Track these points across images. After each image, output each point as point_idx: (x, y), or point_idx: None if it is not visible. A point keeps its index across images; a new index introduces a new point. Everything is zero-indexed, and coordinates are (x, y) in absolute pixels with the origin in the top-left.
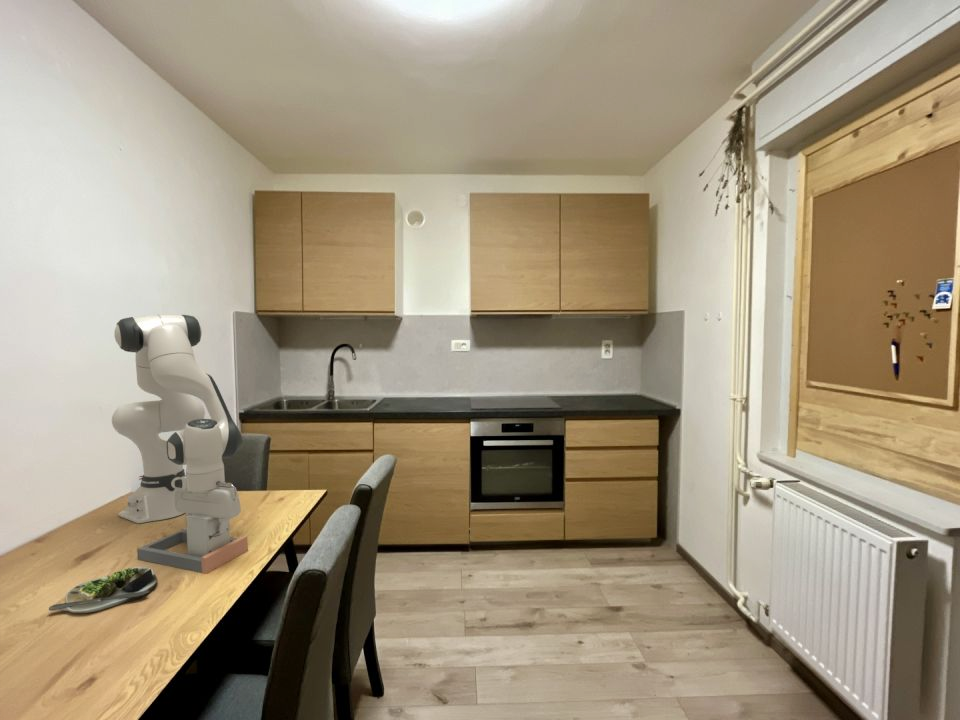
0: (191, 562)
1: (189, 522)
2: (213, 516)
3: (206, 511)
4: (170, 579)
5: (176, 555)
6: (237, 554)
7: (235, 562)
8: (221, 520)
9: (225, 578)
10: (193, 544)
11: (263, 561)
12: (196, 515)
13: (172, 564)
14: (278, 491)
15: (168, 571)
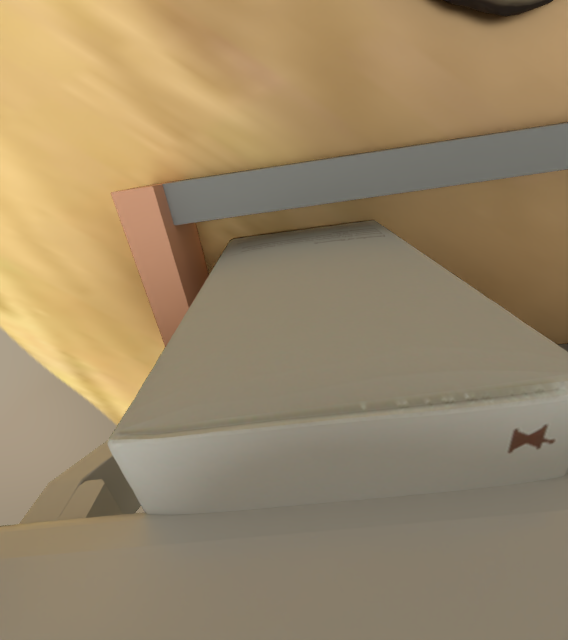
0: (257, 169)
1: (461, 335)
2: (99, 527)
3: (230, 597)
4: (272, 26)
5: (414, 157)
6: None
7: (152, 320)
8: (53, 499)
9: (12, 198)
10: (342, 253)
11: (57, 372)
12: (428, 465)
13: (421, 144)
14: None
15: (386, 93)
